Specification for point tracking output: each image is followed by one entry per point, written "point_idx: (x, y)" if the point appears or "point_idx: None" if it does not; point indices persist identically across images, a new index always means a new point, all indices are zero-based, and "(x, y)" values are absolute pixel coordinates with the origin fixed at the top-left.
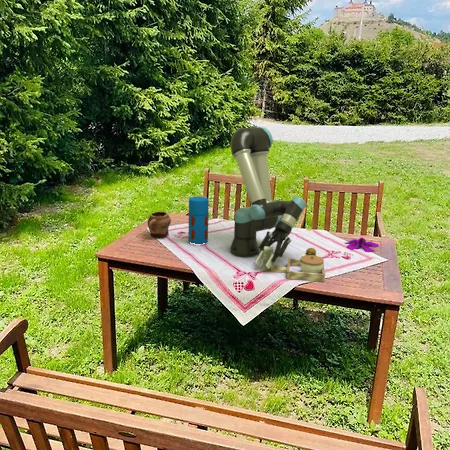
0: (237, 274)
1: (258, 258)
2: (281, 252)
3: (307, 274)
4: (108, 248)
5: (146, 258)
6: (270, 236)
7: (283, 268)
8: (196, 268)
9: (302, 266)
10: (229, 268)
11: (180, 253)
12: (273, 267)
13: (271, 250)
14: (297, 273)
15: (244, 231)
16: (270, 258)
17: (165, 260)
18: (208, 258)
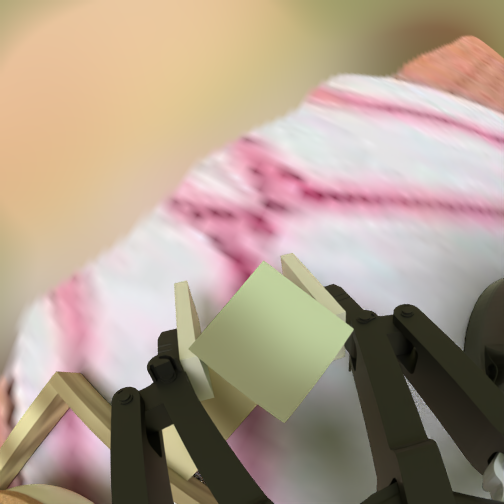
0: (272, 165)
1: (294, 271)
2: (117, 429)
3: (3, 449)
4: (498, 54)
5: (458, 57)
6: (484, 474)
7: (172, 439)
8: (384, 85)
9: (47, 491)
10: (357, 171)
11: (500, 124)
12: (220, 387)
13: (197, 341)
14: (25, 415)
15: None
16: (183, 323)
17: (449, 71)
18: (470, 164)
